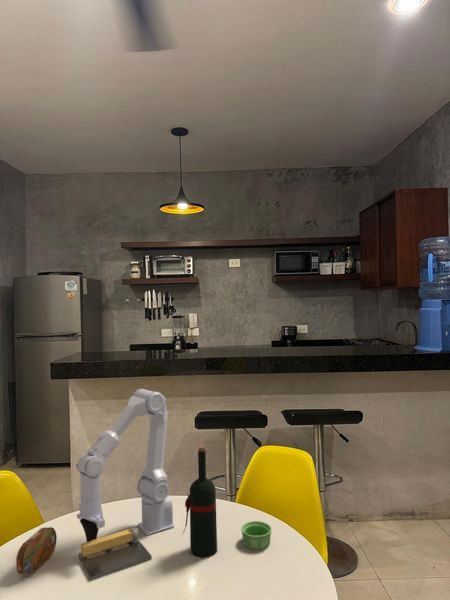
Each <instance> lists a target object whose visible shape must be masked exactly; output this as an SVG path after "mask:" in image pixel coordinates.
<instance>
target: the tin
mask: <svg viewBox="0 0 450 600" xmlns="http://www.w3.org/2000/svg"><path fill="white" fill-rule="evenodd" d="M57 540H58V539H57V532H56V529H55V528H54V527H52V526H49V527H42V528H40V529H38V530H37V531H36V532H34V534H32V535H31V536H30V537H29V538H28V539H26V540H25V541H24V542H23V543H22V544H21V546H20V547H19V549H18V551H17V553H16V558H15V559H16V560H15V561H16V562H15V564H16V571H17V573H18V574H19V575H20V576H28V577H30V576H33V575H34V574H35V573H36V572H37V571H38V570H40V568H41V567H42V566H43V565H44V564H45V563H46V562H47V561H48V560H49V559H50V558H51V557H52V556H53V554H54V553H55V549H56V546H57Z"/></svg>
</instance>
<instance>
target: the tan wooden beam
mask: <svg viewBox="0 0 450 600" xmlns="http://www.w3.org/2000/svg"><path fill="white" fill-rule="evenodd" d="M136 539H138V540H139V529H138V528H137V527H131V528H128V529H124V530H122V531H119V532H116V533H113V534H109V535H105V536H102V537H99V538H98V537H97V538H96V539H95V540H92V541H89V542H87V541H86V542H82V543H80V553H82V555H83V556H86V555H89V554H92V553H95V552H99V551H102V550H105V549H108V548H111V547H114V546H117V545H120V544H123V543H127V542H130V541H134V540H136Z"/></svg>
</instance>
